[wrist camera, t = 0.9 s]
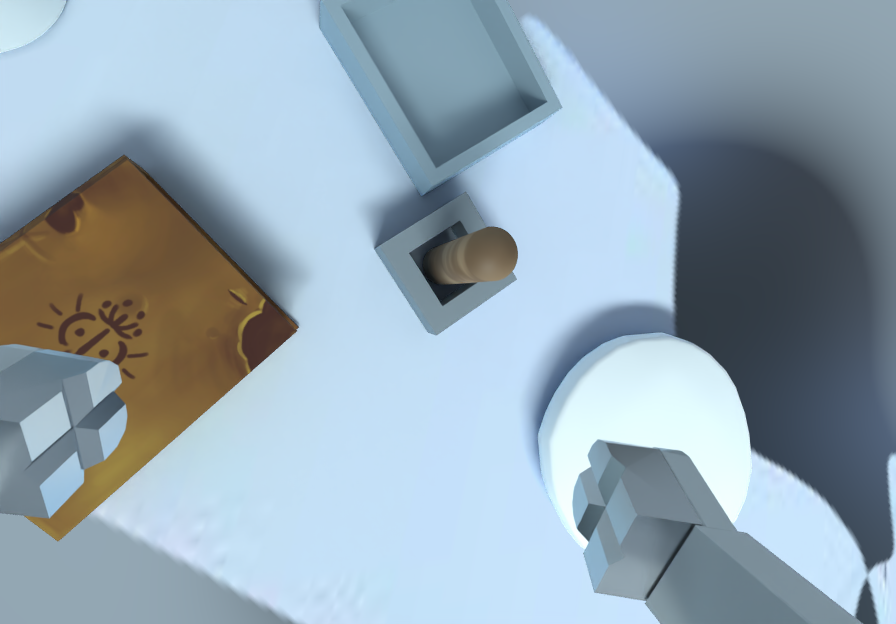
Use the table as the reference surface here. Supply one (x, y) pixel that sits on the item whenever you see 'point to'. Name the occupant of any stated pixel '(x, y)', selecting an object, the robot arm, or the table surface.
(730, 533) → the robot arm
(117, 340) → the diary
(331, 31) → the tray
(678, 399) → the plate
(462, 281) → the dowel
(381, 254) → the socket block
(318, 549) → the table surface
